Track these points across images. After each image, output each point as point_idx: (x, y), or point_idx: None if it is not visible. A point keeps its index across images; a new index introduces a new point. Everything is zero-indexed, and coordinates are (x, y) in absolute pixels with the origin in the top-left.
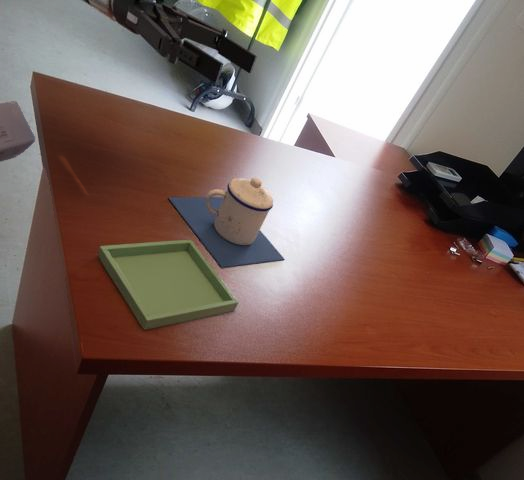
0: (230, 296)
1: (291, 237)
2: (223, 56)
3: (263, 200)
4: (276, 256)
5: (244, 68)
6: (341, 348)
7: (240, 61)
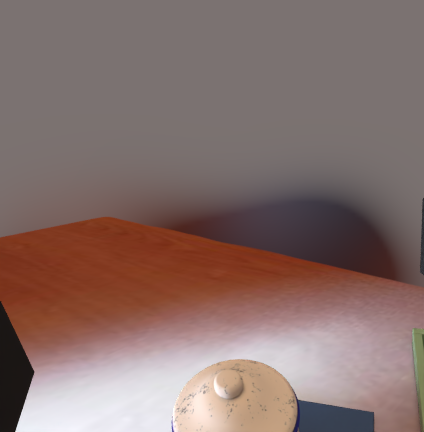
0: (421, 338)
1: (116, 426)
2: None
3: (241, 365)
4: None
5: (23, 393)
6: (287, 270)
7: (4, 408)
